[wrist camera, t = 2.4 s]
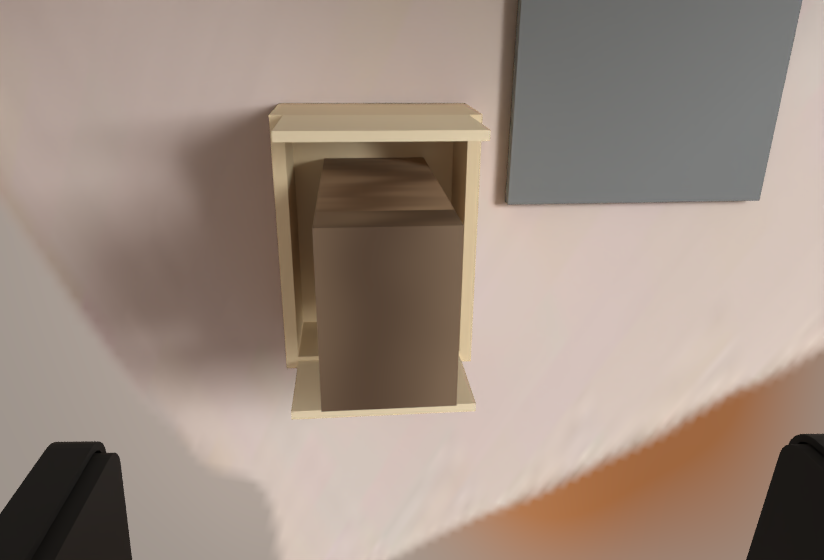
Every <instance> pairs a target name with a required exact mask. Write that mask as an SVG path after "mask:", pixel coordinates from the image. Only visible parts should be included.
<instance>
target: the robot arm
mask: <svg viewBox="0 0 824 560" xmlns="http://www.w3.org/2000/svg"><path fill="white" fill-rule="evenodd" d="M0 560H132V556H131V548H130V538H129V530H128V523H127V514H126V505H125V497H124V489H123V480H122V472H121V463H120V458H119V456H118V454H116V453H106V450H105V447H104V445H103V443H101V442H54V443H52V444H50V445H49V446H48V447H47V449H46V450H45V451H44V453H43V454H42V456H41V457H40V459H39V460H38V461H37V463H36V464H35V465H34V467H33V468H32V470H31V471H30V473H29V474H28V475H27V477H26V478H25V480H24V481H23V482H22V484H21V485H20V487H19V488H18V489H17V491H16V493H15V494H14V495H13V497H12V498H11V500H10V501H9V502H8V504H7V505H6V507H5V508H4V509H3V511H2V512H1V514H0ZM746 560H824V434H800V435H797V436H795V437H794V438H793V439H791V441H790V443H789V445H786V446H785V447H783V448H782V450H781V452H780V455H779V458H778V461H777V464H776V467H775V470H774V473H773V477H772V480H771V483H770V486H769V489H768V492H767V496H766V499H765V502H764V505H763V508H762V511H761V515H760V518H759V521H758V524H757V528H756V530H755V534H754V537H753V540H752V543H751V546H750V549H749V553H748V556H747V559H746Z"/></svg>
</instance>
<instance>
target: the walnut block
mask: <svg viewBox="0 0 824 560" xmlns="http://www.w3.org/2000/svg"><path fill="white" fill-rule="evenodd" d="M463 234H464V225H463V223H462V221H461V220H460V218H459V216H458V215H457V213H456V211H455V210H454V208H453V206H452V205H451V203H450V201H449V199H448V198H447V196H446V194H445V193H444V191H443V189H442V188H441V186H440V184H439V183H438V181H437V179H436V178H435V176H434V174H433V172H432V171H431V169H430V167H429V166H428V164H427V162H426V161H425V159H424V157H406V158H324V162H323V168H322V174H321V180H320V185H319V191H318V197H317V203H316V209H315V215H314V221H313V226H312V235H313V254H314V274H315V294H316V314H317V334H318V354H319V373H320V393H321V412H328V411H350V410H372V409H394V408H417V407H439V406H457V382H458V357H459V333H460V308H461V284H462V259H463Z"/></svg>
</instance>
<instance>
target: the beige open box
mask: <svg viewBox="0 0 824 560" xmlns="http://www.w3.org/2000/svg"><path fill="white" fill-rule="evenodd" d="M269 128H270V142H271V156H272V170H273V184H274V197H275V211H276V225H277V239H278V253H279V267H280V281H281V295H282V309H283V323H284V337H285V351H286V365H287V368H297V375H296V382H295V389H294V396H293V403H292V410H291V415H292V420H293V419H315V418H337V417H358V416H380V415H402V414H424V413H446V412H467V411H475V410H476V402H475V399H474V397H473V394H472V391H471V388H470V385H469V382H468V379H467V376H466V373H465V370H464V367H463V365H462V361H471V340H472V320H473V299H474V279H475V258H476V238H477V217H478V197H479V176H480V155H481V141H490V129H488V128H487V127H485V126H484V125H483V124H482V114H481V113H479V112H478V111H476V110H474V109H473V108H471V107H470V106H468V105H467V104H465V103H279V104H278V105H277V106H276V107H275V109H274V110H273V111H272V112H271V113H270V114H269ZM406 157H424V159H425V161H426V162H427V164H428V166H429V167H430V169H431V171H432V172H433V174H434V176H435V178H436V179H437V181H438V183H439V184H440V186H441V188H442V189H443V191H444V193H445V194H446V196H447V198H448V199H449V201H450V203H451V205H452V206H453V208H454V210H455V211H456V213H457V215H458V216H459V218H460V220H461V221H462V223H463V225H464V234H463V259H462V284H461V308H460V333H459V357H458V382H457V406H439V407H417V408H394V409H372V410H350V411H328V412H321V393H320V373H319V354H318V334H317V314H316V294H315V274H314V254H313V235H312V226H313V221H314V215H315V209H316V203H317V197H318V191H319V185H320V180H321V174H322V168H323V162H324V158H406Z"/></svg>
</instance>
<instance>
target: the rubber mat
mask: <svg viewBox="0 0 824 560" xmlns="http://www.w3.org/2000/svg"><path fill="white" fill-rule="evenodd" d="M801 4H802V0H518V13H517V29H516V44H515V60H514V75H513V90H512V106H511V121H510V137H509V152H508V168H507V183H506V199H505V202H506V203H507V204H569V203H632V202H695V201H758V200H760V195H761V190H762V186H763V181H764V176H765V172H766V167H767V162H768V158H769V153H770V148H771V144H772V139H773V134H774V130H775V125H776V120H777V116H778V111H779V106H780V102H781V97H782V92H783V88H784V83H785V79H786V74H787V69H788V65H789V60H790V55H791V51H792V46H793V41H794V37H795V32H796V27H797V23H798V18H799V13H800V9H801Z"/></svg>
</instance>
